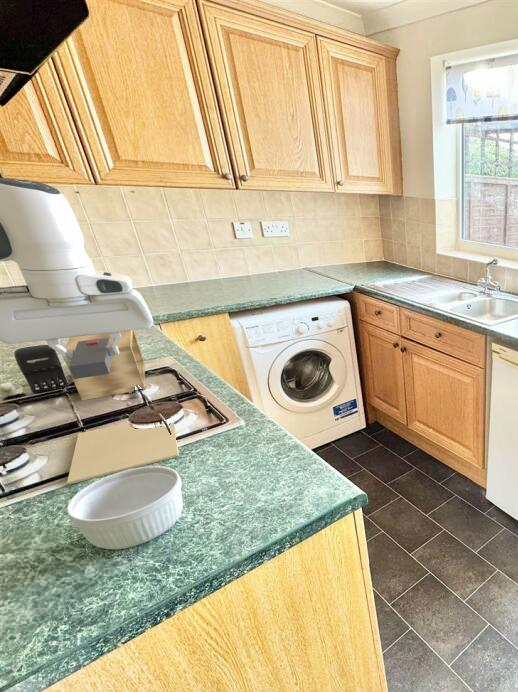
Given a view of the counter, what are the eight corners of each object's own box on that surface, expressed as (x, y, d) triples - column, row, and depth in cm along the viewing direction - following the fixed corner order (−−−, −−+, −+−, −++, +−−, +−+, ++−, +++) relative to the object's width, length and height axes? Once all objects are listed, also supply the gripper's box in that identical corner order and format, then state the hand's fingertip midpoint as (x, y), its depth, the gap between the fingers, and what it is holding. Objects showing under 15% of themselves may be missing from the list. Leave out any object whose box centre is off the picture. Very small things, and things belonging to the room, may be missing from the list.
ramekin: (195, 489, 76) (185, 457, 73) (184, 539, 65) (172, 505, 62) (98, 510, 70) (83, 477, 67) (69, 569, 59) (50, 532, 56)
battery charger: (31, 395, 102) (10, 352, 98) (30, 390, 105) (10, 347, 100) (71, 388, 107) (53, 346, 102) (69, 383, 109) (52, 341, 105)
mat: (67, 484, 75) (66, 482, 75) (79, 435, 89) (78, 433, 89) (178, 456, 84) (178, 454, 84) (173, 415, 98) (172, 413, 98)
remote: (73, 379, 72) (67, 365, 71) (82, 352, 83) (77, 339, 81) (109, 373, 75) (104, 359, 74) (113, 348, 85) (108, 336, 84)
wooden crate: (81, 400, 102) (62, 354, 97) (89, 371, 116) (72, 330, 111) (145, 389, 109) (130, 346, 104) (144, 363, 123) (131, 323, 118)
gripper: (-34, 292, 64) (7, 374, 70) (139, 282, 76) (162, 353, 82) (-23, 284, 69) (15, 362, 74) (139, 275, 80) (161, 343, 86)
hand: (93, 357), depth 78 cm, fingers closed on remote, 4 cm apart
